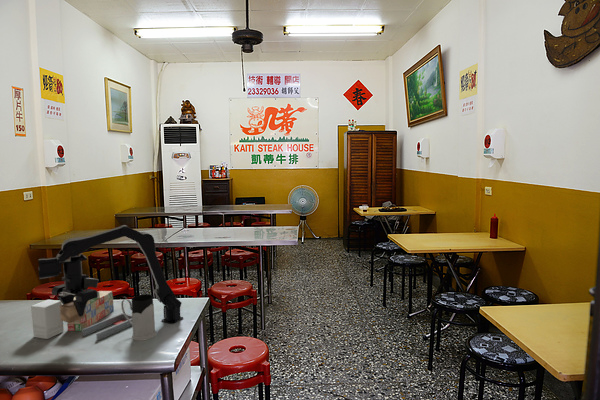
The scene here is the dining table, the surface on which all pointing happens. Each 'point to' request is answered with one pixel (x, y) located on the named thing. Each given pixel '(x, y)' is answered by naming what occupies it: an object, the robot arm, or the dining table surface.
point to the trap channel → (117, 320)
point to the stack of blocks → (94, 311)
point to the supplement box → (47, 319)
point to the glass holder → (142, 317)
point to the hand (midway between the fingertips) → (76, 314)
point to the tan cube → (70, 313)
